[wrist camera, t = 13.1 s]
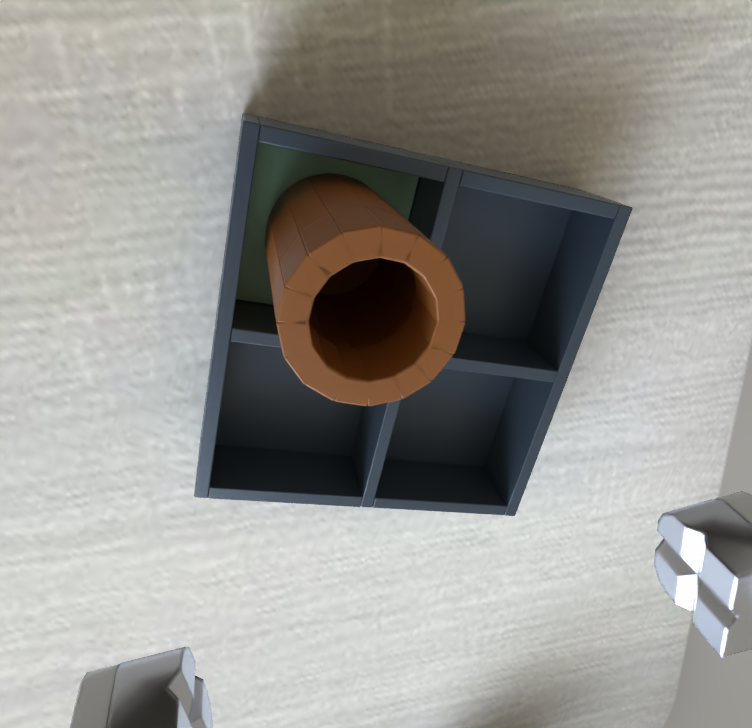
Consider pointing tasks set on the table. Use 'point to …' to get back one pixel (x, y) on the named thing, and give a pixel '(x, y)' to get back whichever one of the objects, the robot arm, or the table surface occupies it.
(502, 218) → the compartment tray
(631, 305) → the table surface
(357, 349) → the jar
